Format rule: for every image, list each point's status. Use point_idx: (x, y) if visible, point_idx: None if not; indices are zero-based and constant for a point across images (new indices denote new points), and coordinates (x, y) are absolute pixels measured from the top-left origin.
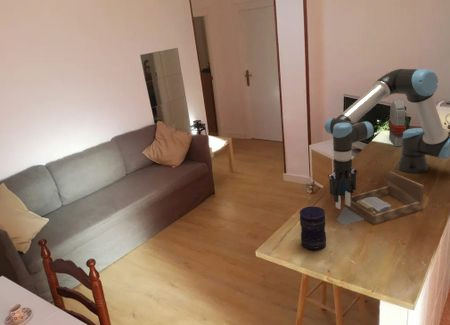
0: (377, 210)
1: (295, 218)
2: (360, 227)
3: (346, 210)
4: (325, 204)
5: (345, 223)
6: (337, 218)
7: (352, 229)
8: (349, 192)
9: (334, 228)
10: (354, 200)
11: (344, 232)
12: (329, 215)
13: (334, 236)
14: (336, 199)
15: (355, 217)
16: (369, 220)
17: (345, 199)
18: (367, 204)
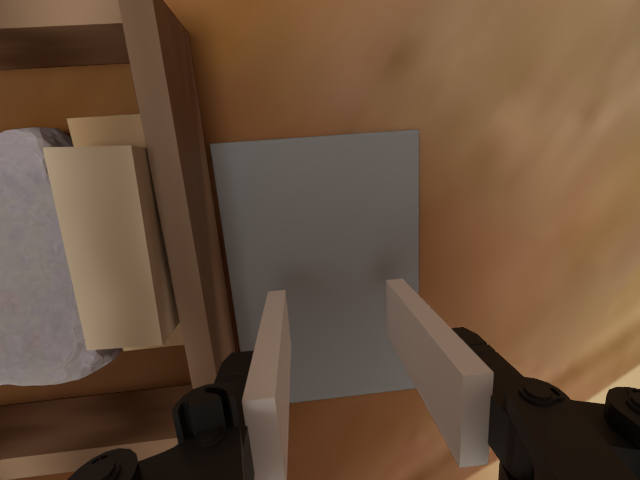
0: (36, 136)
1: (626, 363)
2: (313, 45)
3: None
4: (354, 454)
5: (388, 152)
6: (397, 246)
7: (388, 48)
8: (244, 428)
9: (495, 129)
10: (145, 413)
11: (468, 37)
12: None
13: (566, 19)
14: (485, 353)
15: (266, 202)
16: (192, 88)
17: (289, 377)
18: (85, 226)
